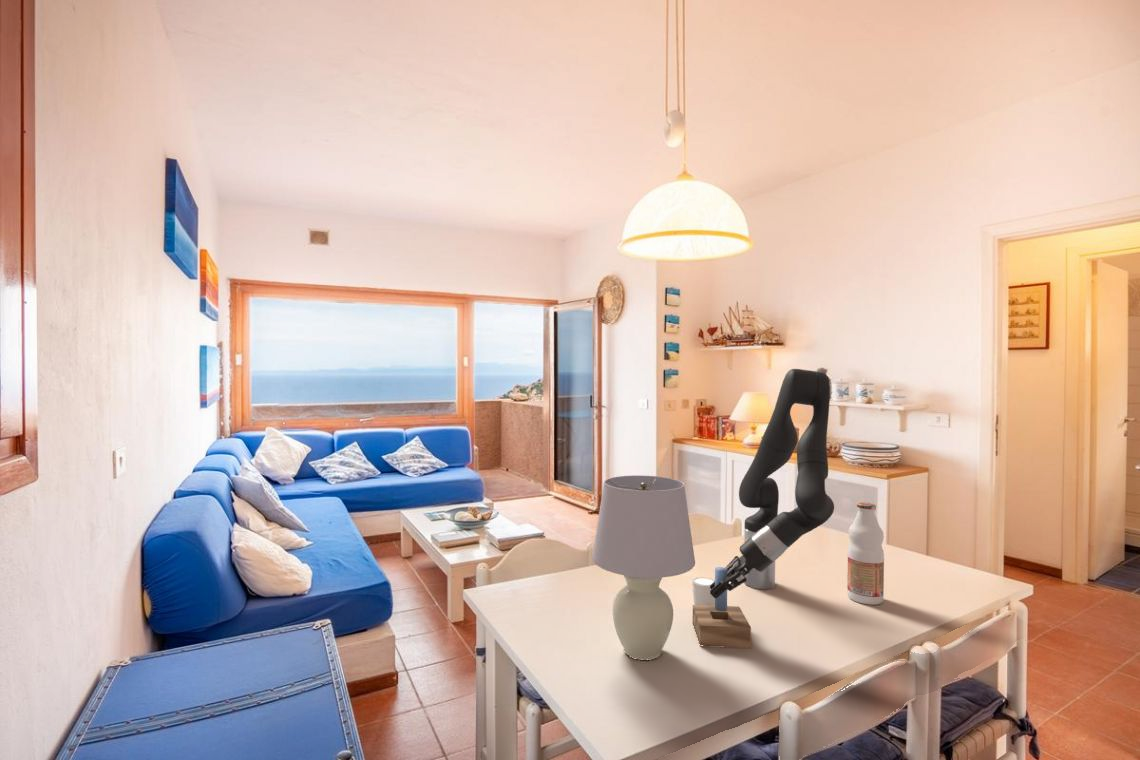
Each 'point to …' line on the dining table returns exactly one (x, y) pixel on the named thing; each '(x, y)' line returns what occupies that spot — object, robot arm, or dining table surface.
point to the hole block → (721, 627)
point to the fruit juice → (866, 557)
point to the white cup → (702, 591)
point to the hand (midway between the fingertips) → (712, 592)
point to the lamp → (643, 555)
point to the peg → (722, 599)
